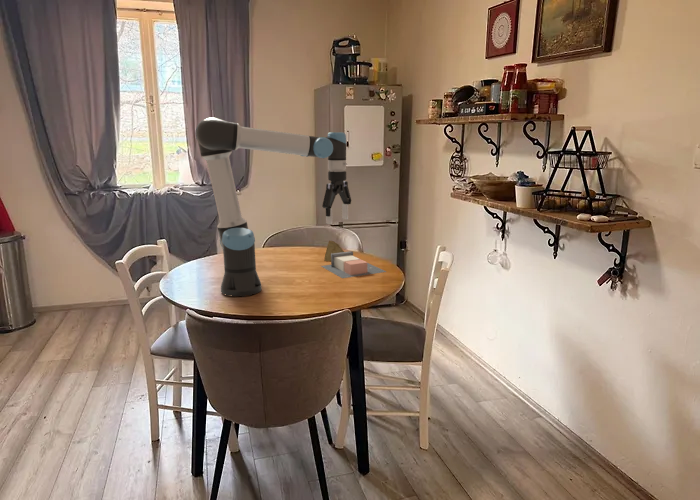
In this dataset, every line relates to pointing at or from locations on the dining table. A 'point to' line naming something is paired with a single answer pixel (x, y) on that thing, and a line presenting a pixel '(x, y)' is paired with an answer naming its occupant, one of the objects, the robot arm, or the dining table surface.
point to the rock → (332, 250)
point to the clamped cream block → (342, 259)
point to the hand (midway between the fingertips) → (337, 221)
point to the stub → (355, 267)
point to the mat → (343, 274)
